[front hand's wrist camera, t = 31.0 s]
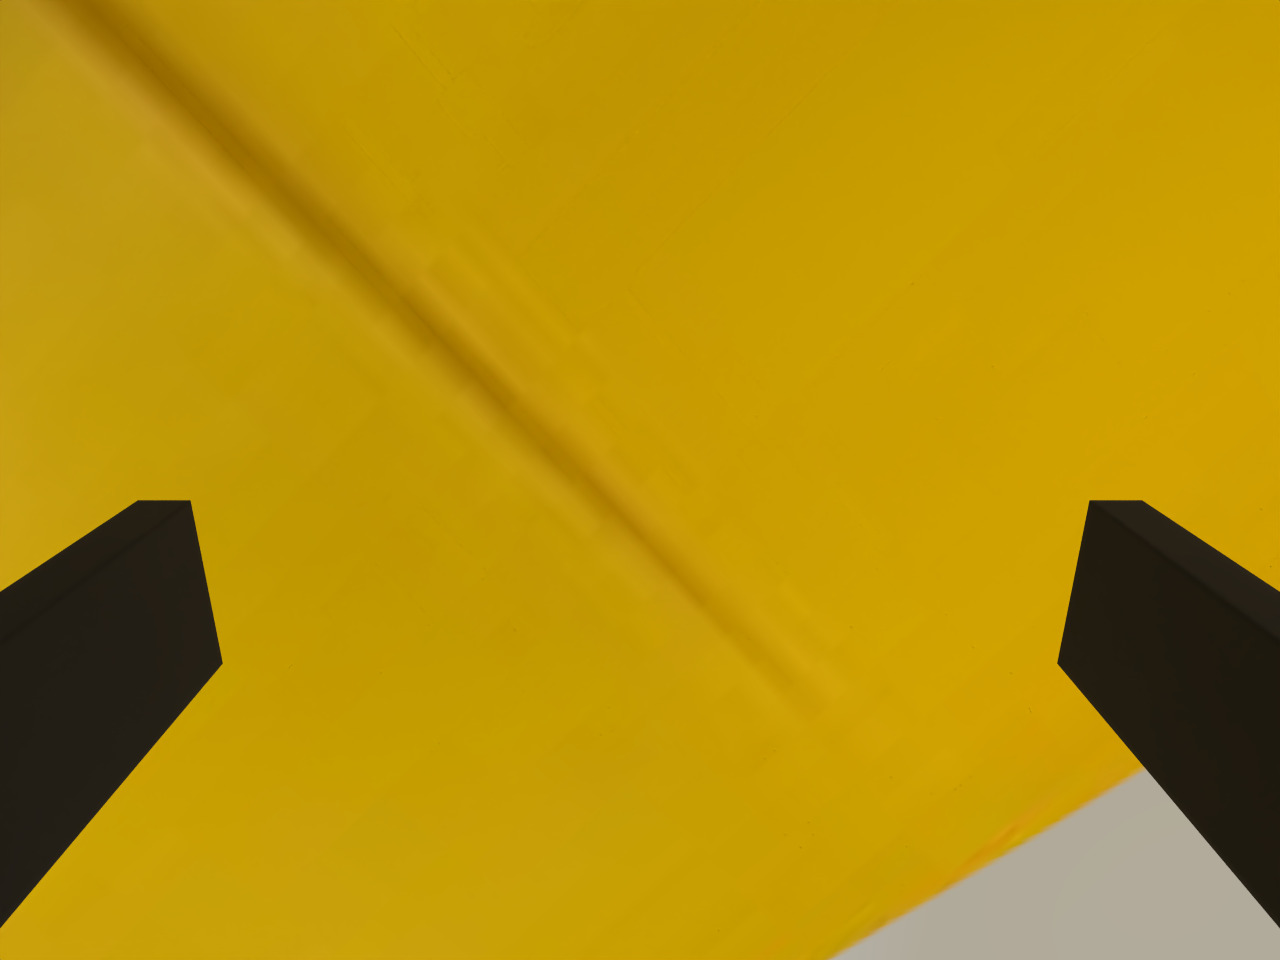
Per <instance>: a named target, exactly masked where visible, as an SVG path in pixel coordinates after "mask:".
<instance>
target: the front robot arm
mask: <svg viewBox="0 0 1280 960" xmlns="http://www.w3.org/2000/svg"><path fill="white" fill-rule="evenodd" d="M222 664H223V662H222V657H221V652H220V647H219V642H218V637H217V632H216V627H215V622H214V617H213V612H212V607H211V602H210V597H209V592H208V587H207V582H206V577H205V572H204V567H203V561H202V556H201V551H200V546H199V541H198V536H197V531H196V526H195V521H194V516H193V511H192V506H191V501H190V500H138V501H136V502H135V503H133V504H132V505H130V506H129V507H127V508H126V509H124V510H123V511H121V512H120V513H118V514H117V515H115V516H114V517H112V518H111V519H109V520H108V521H106V522H105V523H103V524H102V525H100V526H99V527H97V528H96V529H94V530H93V531H91V532H90V533H88V534H87V535H85V536H84V537H82V538H81V539H79V540H78V541H76V542H75V543H73V544H72V545H70V546H69V547H67V548H66V549H64V550H63V551H61V552H60V553H58V554H57V555H55V556H54V557H52V558H51V559H49V560H47V561H46V562H44V563H43V564H41V565H40V566H38V567H37V568H35V569H34V570H32V571H31V572H29V573H28V574H26V575H25V576H23V577H22V578H20V579H19V580H17V581H16V582H14V583H13V584H11V585H10V586H8V587H7V588H5V589H4V590H2V591H1V592H0V928H1V927H2V925H3V924H4V923H5V922H6V921H7V919H8V918H9V917H10V916H11V915H12V913H13V912H14V911H15V910H16V909H17V907H18V906H19V905H20V904H21V903H22V902H23V900H24V899H25V898H26V897H27V896H28V894H29V893H30V892H31V891H32V890H33V888H34V887H35V886H36V885H37V884H38V883H39V881H40V880H41V879H42V878H43V877H44V875H45V874H46V873H47V872H48V871H49V869H50V868H51V867H52V866H53V865H54V863H55V862H56V861H57V860H58V859H59V858H60V856H61V855H62V854H63V853H64V852H65V850H66V849H67V848H68V847H69V846H70V844H71V843H72V842H73V841H74V840H75V839H76V837H77V836H78V835H79V834H80V833H81V831H82V830H83V829H84V828H85V827H86V825H87V824H88V823H89V822H90V821H91V819H92V818H93V817H94V816H95V815H96V814H97V812H98V811H99V810H100V809H101V808H102V806H103V805H104V804H105V803H106V802H107V800H108V799H109V798H110V797H111V796H112V794H113V793H114V792H115V791H116V790H117V789H118V787H119V786H120V785H121V784H122V783H123V781H124V780H125V779H126V778H127V777H128V775H129V774H130V773H131V772H132V771H133V770H134V768H135V767H136V766H137V765H138V764H139V762H140V761H141V760H142V759H143V758H144V756H145V755H146V754H147V753H148V752H149V750H150V749H151V748H152V747H153V746H154V745H155V743H156V742H157V741H158V740H159V739H160V737H161V736H162V735H163V734H164V733H165V731H166V730H167V729H168V728H169V727H170V726H171V724H172V723H173V722H174V721H175V720H176V718H177V717H178V716H179V715H180V714H181V712H182V711H183V710H184V709H185V708H186V706H187V705H188V704H189V703H190V702H191V701H192V699H193V698H194V697H195V696H196V695H197V693H198V692H199V691H200V690H201V689H202V687H203V686H204V685H205V684H206V683H207V681H208V680H209V679H210V678H211V677H212V676H213V674H214V673H215V672H216V671H217V670H218V668H219V667H220V666H221V665H222ZM1057 664H1058V665H1059V666H1060V667H1061V668H1062V670H1063V671H1064V672H1065V673H1066V674H1067V676H1068V677H1069V678H1070V679H1071V680H1072V681H1073V683H1074V684H1075V685H1076V686H1077V687H1078V689H1079V690H1080V691H1081V692H1082V693H1083V695H1084V696H1085V697H1086V698H1087V699H1088V701H1089V702H1090V703H1091V704H1092V705H1093V706H1094V708H1095V709H1096V710H1097V711H1098V712H1099V714H1100V715H1101V716H1102V717H1103V718H1104V720H1105V721H1106V722H1107V723H1108V724H1109V726H1110V727H1111V728H1112V729H1113V730H1114V731H1115V733H1116V734H1117V735H1118V736H1119V737H1120V739H1121V740H1122V741H1123V742H1124V743H1125V745H1126V746H1127V747H1128V748H1129V749H1130V750H1131V752H1132V753H1133V754H1134V755H1135V756H1136V758H1137V759H1138V760H1139V761H1140V762H1141V764H1142V765H1143V766H1144V767H1145V768H1146V770H1147V771H1148V772H1149V773H1150V774H1151V775H1152V777H1153V778H1154V779H1155V780H1156V781H1157V783H1158V784H1159V785H1160V786H1161V787H1162V788H1163V790H1164V791H1165V792H1166V793H1167V794H1168V796H1169V797H1170V798H1171V799H1172V800H1173V802H1174V803H1175V804H1176V805H1177V806H1178V808H1179V809H1180V810H1181V811H1182V812H1183V814H1184V815H1185V816H1186V817H1187V818H1188V819H1189V821H1190V822H1191V823H1192V824H1193V825H1194V827H1195V828H1196V829H1197V830H1198V831H1199V833H1200V834H1201V835H1202V836H1203V837H1204V838H1205V840H1206V841H1207V842H1208V843H1209V844H1210V846H1211V847H1212V848H1213V849H1214V850H1215V852H1216V853H1217V854H1218V855H1219V856H1220V858H1221V859H1222V860H1223V861H1224V862H1225V863H1226V865H1227V866H1228V867H1229V868H1230V869H1231V871H1232V872H1233V873H1234V874H1235V875H1236V877H1237V878H1238V879H1239V880H1240V881H1241V883H1242V884H1243V885H1244V886H1245V887H1246V888H1247V890H1248V891H1249V892H1250V893H1251V894H1252V896H1253V897H1254V898H1255V899H1256V900H1257V901H1258V903H1259V904H1260V905H1261V906H1262V907H1263V909H1264V910H1265V911H1266V912H1267V913H1268V915H1269V916H1270V917H1271V918H1272V919H1273V921H1274V922H1275V923H1276V924H1277V925H1278V927H1279V928H1280V592H1279V591H1278V590H1276V589H1275V588H1273V587H1272V586H1270V585H1269V584H1267V583H1266V582H1264V581H1263V580H1261V579H1260V578H1258V577H1257V576H1255V575H1254V574H1252V573H1251V572H1249V571H1248V570H1246V569H1245V568H1243V567H1242V566H1240V565H1239V564H1237V563H1236V562H1234V561H1233V560H1231V559H1229V558H1228V557H1226V556H1225V555H1223V554H1222V553H1220V552H1219V551H1217V550H1216V549H1214V548H1213V547H1211V546H1210V545H1208V544H1207V543H1205V542H1204V541H1202V540H1201V539H1199V538H1198V537H1196V536H1195V535H1193V534H1192V533H1190V532H1189V531H1187V530H1186V529H1184V528H1183V527H1181V526H1180V525H1178V524H1177V523H1175V522H1174V521H1172V520H1171V519H1169V518H1168V517H1166V516H1165V515H1163V514H1162V513H1160V512H1159V511H1157V510H1156V509H1154V508H1153V507H1151V506H1150V505H1148V504H1147V503H1145V502H1144V501H1142V500H1090V501H1089V506H1088V511H1087V516H1086V521H1085V526H1084V531H1083V536H1082V541H1081V546H1080V551H1079V556H1078V561H1077V567H1076V572H1075V577H1074V582H1073V587H1072V592H1071V597H1070V602H1069V607H1068V612H1067V617H1066V622H1065V627H1064V632H1063V637H1062V642H1061V647H1060V652H1059V657H1058V662H1057Z"/></svg>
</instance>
